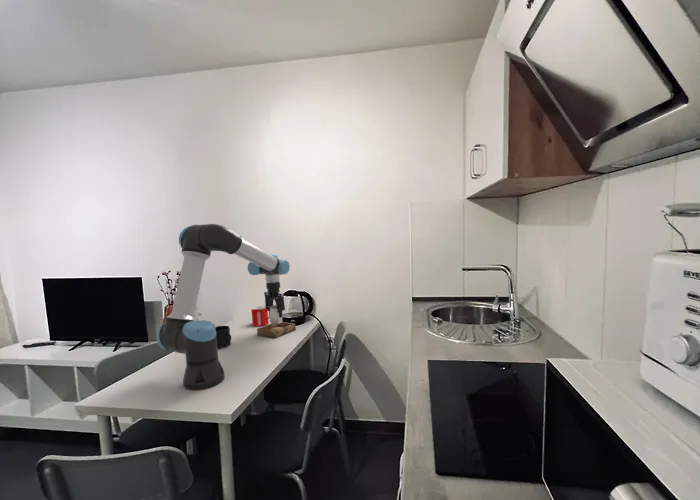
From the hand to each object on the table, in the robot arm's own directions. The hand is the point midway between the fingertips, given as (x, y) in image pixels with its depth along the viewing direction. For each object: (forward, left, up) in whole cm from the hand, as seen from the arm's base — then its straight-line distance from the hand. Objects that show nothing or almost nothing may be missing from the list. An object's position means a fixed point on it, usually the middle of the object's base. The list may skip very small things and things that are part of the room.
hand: (276, 322), depth 197 cm
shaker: (0, 0, 0) cm, 0 cm away
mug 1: (-28, +10, -6) cm, 30 cm away
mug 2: (+8, +20, -6) cm, 22 cm away
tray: (0, 0, -6) cm, 6 cm away
